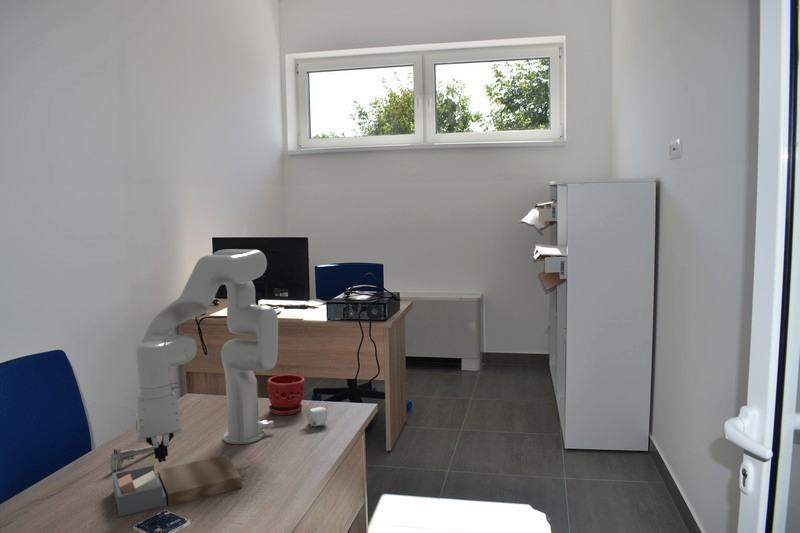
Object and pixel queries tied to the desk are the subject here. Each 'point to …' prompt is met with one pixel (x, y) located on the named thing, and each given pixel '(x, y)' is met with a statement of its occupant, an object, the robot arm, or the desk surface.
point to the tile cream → (146, 481)
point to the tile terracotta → (126, 484)
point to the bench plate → (199, 479)
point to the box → (138, 493)
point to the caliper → (127, 456)
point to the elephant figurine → (316, 415)
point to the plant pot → (285, 394)
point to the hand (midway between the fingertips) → (161, 459)
